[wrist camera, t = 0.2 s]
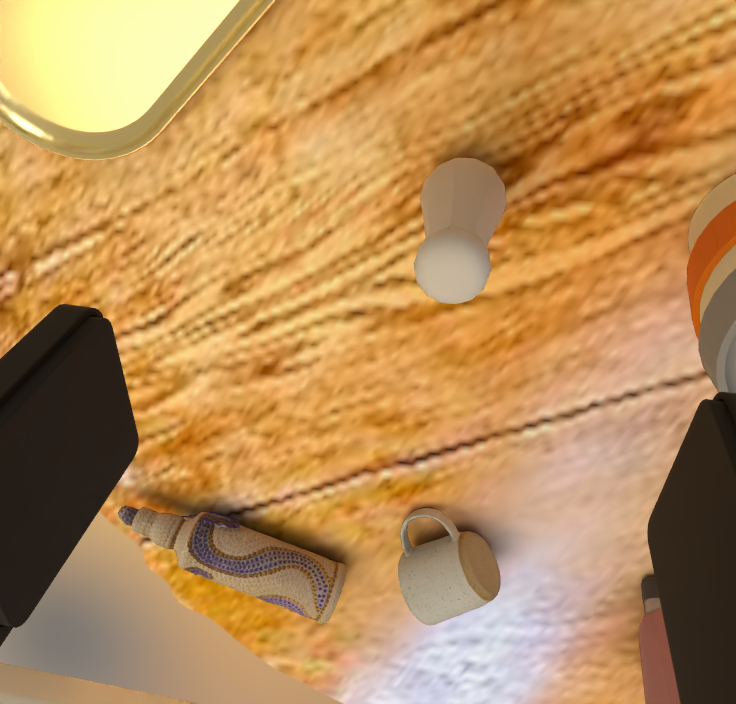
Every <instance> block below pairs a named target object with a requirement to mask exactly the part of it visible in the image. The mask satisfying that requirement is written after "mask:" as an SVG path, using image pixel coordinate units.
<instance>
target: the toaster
mask: <svg viewBox="0 0 736 704" xmlns="http://www.w3.org/2000/svg"><path fill="white" fill-rule="evenodd" d="M641 587H642V597H643V604H644V611H645V616H644V618H643V620H642V622H641V625H640V627H639V646H640V656H641V665H642V674H643V684H644V693H645V703H646V704H680V699H679V694H678V689H677V684H676V679H675V674H674V669H673V664H672V659H671V654H670V649H669V644H668V639H667V634H666V629H665V624H664V619H663V614H662V609H661V604H660V599H659V594H658V589H657V584H656V579H655V577H646V578H644V579H643V580H642V583H641Z"/></svg>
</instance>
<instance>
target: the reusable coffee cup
mask: <svg viewBox="0 0 736 704" xmlns="http://www.w3.org/2000/svg"><path fill="white" fill-rule="evenodd" d="M688 246H689V253H690V258H689V262H688V266H687V286H688V293H689V300H690V307H691V314H692V321H693V325H694V328H695V332H696V336H697V338H698V339H699V353H700V357H701V361H702V364H703V367H704V369H705V371H706V372H707V374H708V376H709V377H710V379H711V381H712V382H713V384H714V386H715V387H716V389H717V391H718V392H729V393H736V174H734V175H732V176H731V177H729V178H727V179H725V180H724V181H723V182H721V183H720V184H719V185H717V186H716V187H714V188H713V189H712V190H711V191H710V193H709V194H708V195H707V196H706V197H705V198H704V199H703V200H702V202H701V203H700V204H699V206H698V207H697V209H696V211H695V213H694V215H693V217H692V219H691V222H690V227H689V231H688Z"/></svg>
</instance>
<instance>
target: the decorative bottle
mask: <svg viewBox="0 0 736 704" xmlns="http://www.w3.org/2000/svg"><path fill="white" fill-rule="evenodd" d="M118 514H119V518H120V519H121V520H122V521H123V522H124V523H125V524H126V525H130V526H132V527H131V529H132V531H134V532H136V533H139V534H142V535H144V536H148V537H149V538H150V539H151V540H152V541H153V542H155V543H156V544H157V545H159V546H161V547H164V548H167V549H173V550H174V551H175V552H176V555H177V561H178V565H179V567H180V568H182V569H183V570H187V571H189V572H191V573H194V574H195V575H199V576H200V577H204V578H206V579H209V580H211V581H214V582H216V583H218V584H221V585H224V586H227V587H229V588H232V589H235V590H237V591H240V592H243V593H245V594H248V595H250V596H253V597H256V598H259V599H261V600H264V601H266V602H269V603H272V604H274V605H276V606H279V607H281V608H284V609H287V610H289V611H291V612H296V613H298V614H300V615H302V616H305V617H308V618H311V619H314V620H316V621H317V622H319V623H320V624H327V623H328V621H329V619H330V617H331V615H332V614H333V611H334V609H335V607H336V605H337V602H338V600H339V597H340V594H341V591H342V587H343V584H344V581H345V576H346V572H347V566H346V565H344V564H343V563H339V562H335V561H333V560H329V559H327V558H325V557H322V556H320V555H317V554H315V553H312V552H309V551H307V550H306V549H301V548H299V547H297V546H295V545H291V544H288V543H286V542H283V541H281V540H278V539H275V538H273V537H271V536H267V535H264V534H262V533H259V532H257V531H254V530H251V529H249V528H246V527H244V526H242V525H239V522H238V521H237V520H236V519H234V518H231V517H229V516H225V515H221V514H217V513H215V512H201V513H199V514H197V515H190V516H178V515H175V514H172V513H157V512H155V511H153V510H151V509H149V508H146V507H142V508H140V509H139V510H138V509H135V508H133V507H127V506H124V507H122V508H121V509H120V510H119V512H118ZM184 517H187V518H193V517H195V518H193V519H191V520H185V519H184ZM231 520H233V522H231ZM234 522H236V523H234Z"/></svg>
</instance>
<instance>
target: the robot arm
mask: <svg viewBox="0 0 736 704" xmlns="http://www.w3.org/2000/svg"><path fill="white" fill-rule="evenodd" d="M138 441H139V439H138V433H137V429H136V424H135V420H134V416H133V412H132V408H131V403H130V399H129V395H128V391H127V387H126V382H125V378H124V374H123V370H122V366H121V362H120V357H119V353H118V349H117V345H116V341H115V336H114V332H113V328H112V325H111V322H110V321H109V320H108V319H106V318H103V316H102V313H101V312H100V311H99V310H98V309H95V308H90V307H83V306H75V305H68V304H62V305H59V306H57V307H56V308H54V309H53V310H52V311H51V312H50V313H49V314H48V315H47V316H46V317H45V318H44V319H43V320H42V321H41V322H39V323H38V324H37V325H36V326H35V327H34V328H33V329H32V330H31V331H30V332H29V333H28V334H27V335H26V336H24V337H23V338H22V339H21V340H20V341H19V342H18V343H17V344H16V345H15V346H14V347H13V348H12V349H11V350H9V351H8V352H7V353H6V354H5V355H4V356H3V357H2V358H1V359H0V646H1V645H2V643H3V642H4V640H5V639H6V637H7V636H8V634H9V633H10V631H11V630H12V628H13V627H15V628H17V627H19V626H21V625H22V624H23V623H24V622H25V621H26V620H27V619H28V617H29V616H30V615H31V613H32V612H33V610H34V609H35V607H36V606H37V604H38V603H39V601H40V599H41V598H42V597H43V595H44V594H45V592H46V590H47V589H48V587H49V586H50V584H51V583H52V581H53V580H54V578H55V577H56V575H57V574H58V572H59V571H60V569H61V568H62V566H63V565H64V563H65V562H66V560H67V559H68V557H69V556H70V554H71V553H72V551H73V549H74V548H75V546H76V545H77V543H78V542H79V540H80V539H81V537H82V536H83V534H84V533H85V531H86V530H87V528H88V527H89V525H90V523H91V522H92V521H93V519H94V518H95V516H96V515H97V513H98V512H99V510H100V508H101V507H102V505H103V504H104V502H105V501H106V499H107V498H108V496H109V495H110V493H111V492H112V490H113V489H114V487H115V486H116V484H117V483H118V481H119V480H120V478H121V477H122V475H123V474H124V472H125V471H126V469H127V467H128V466H129V464H130V463H131V461H132V460H133V458H134V456H135V455H136V452H137V448H138ZM648 544H649V549H650V554H651V559H652V564H653V569H654V574H655V579H656V584H657V589H658V594H659V599H660V604H661V609H662V614H663V619H664V624H665V629H666V634H667V639H668V644H669V649H670V654H671V659H672V664H673V669H674V674H675V679H676V684H677V689H678V694H679V699H680V704H736V393H729V392H719V393H718V394H717V395H716V396H715V397H714V399H713V400H708V399H705V400H703V401H702V402H701V403H700V405H699V406H698V409H697V411H696V413H695V416H694V418H693V420H692V422H691V425H690V427H689V429H688V432H687V434H686V436H685V438H684V441H683V443H682V445H681V448H680V450H679V452H678V454H677V457H676V459H675V461H674V464H673V466H672V468H671V470H670V473H669V475H668V477H667V480H666V482H665V484H664V486H663V489H662V491H661V493H660V496H659V498H658V500H657V502H656V505H655V507H654V509H653V512H652V514H651V516H650V519H649V523H648ZM0 704H198V703H193V702H188V701H184V700H179V699H175V698H170V697H164V696H160V695H155V694H150V693H145V692H141V691H135V690H131V689H126V688H121V687H116V686H111V685H107V684H102V683H97V682H92V681H87V680H82V679H77V678H72V677H68V676H63V675H58V674H53V673H48V672H43V671H38V670H33V669H28V668H24V667H18V666H14V665H9V664H4V663H0Z"/></svg>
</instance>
